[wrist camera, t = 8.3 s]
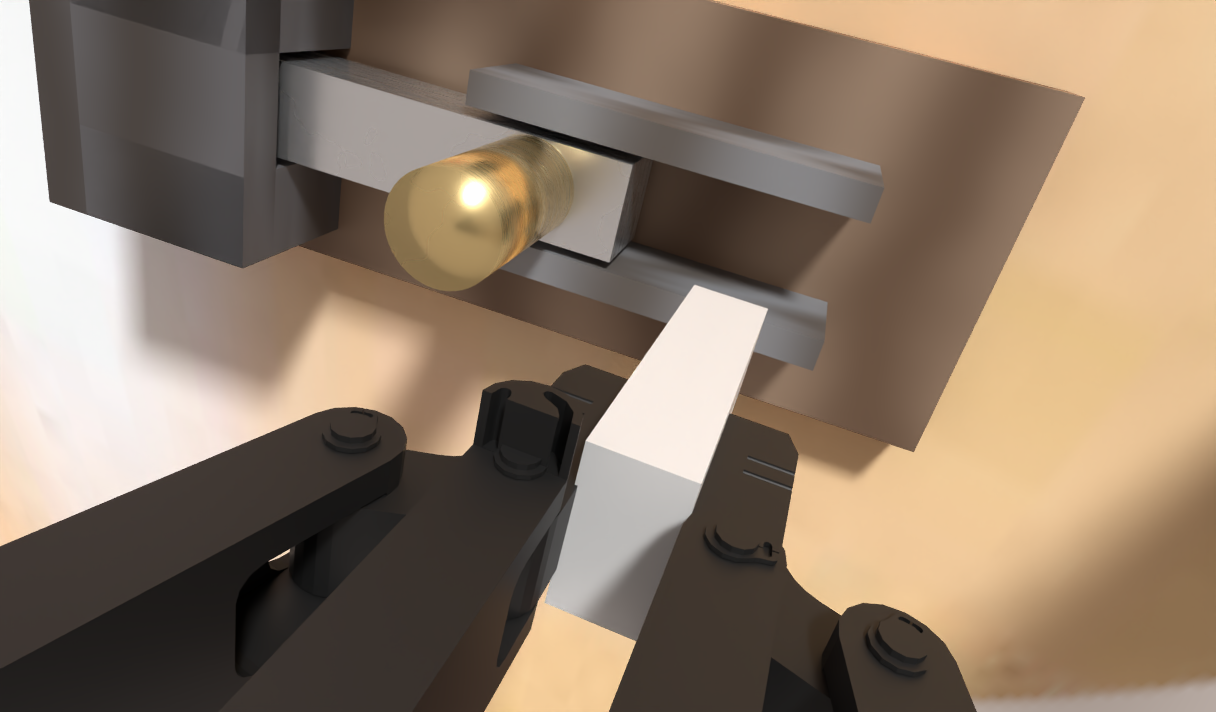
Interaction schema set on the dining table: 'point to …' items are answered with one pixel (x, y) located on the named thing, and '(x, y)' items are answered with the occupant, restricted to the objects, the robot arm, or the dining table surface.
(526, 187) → the bolt
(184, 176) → the lock frame
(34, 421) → the dining table surface
